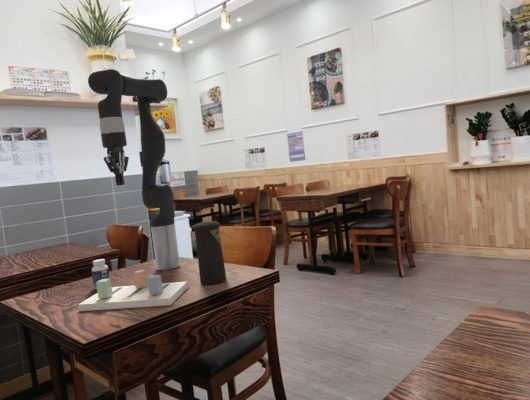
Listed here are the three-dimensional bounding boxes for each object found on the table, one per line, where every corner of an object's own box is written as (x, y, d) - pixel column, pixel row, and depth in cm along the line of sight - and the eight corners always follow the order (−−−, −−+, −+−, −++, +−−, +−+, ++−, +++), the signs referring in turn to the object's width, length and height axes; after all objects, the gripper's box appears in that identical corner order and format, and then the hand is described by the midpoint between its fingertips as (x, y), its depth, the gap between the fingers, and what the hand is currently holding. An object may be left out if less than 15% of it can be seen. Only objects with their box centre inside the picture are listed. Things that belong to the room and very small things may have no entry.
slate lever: (153, 291, 122) (151, 275, 122) (162, 291, 122) (160, 274, 121) (149, 295, 119) (147, 278, 119) (159, 294, 119) (156, 277, 118)
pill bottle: (105, 289, 140) (100, 261, 139) (91, 290, 141) (87, 262, 140) (113, 284, 145) (109, 257, 144) (100, 285, 146) (96, 258, 145)
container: (229, 281, 132) (222, 220, 130) (202, 287, 129) (195, 225, 127) (222, 275, 140) (215, 218, 138) (197, 281, 137) (189, 222, 135)
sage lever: (103, 295, 124) (101, 279, 124) (112, 294, 124) (110, 278, 123) (98, 298, 121) (96, 282, 121) (107, 297, 121) (105, 281, 120)
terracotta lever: (139, 285, 131) (137, 270, 131) (148, 284, 131) (146, 269, 130) (135, 288, 128) (133, 272, 128) (144, 287, 128) (142, 272, 127)
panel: (106, 293, 134) (106, 287, 134) (188, 287, 131) (187, 281, 130) (79, 311, 119) (78, 304, 118) (170, 305, 115) (169, 297, 115)
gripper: (112, 135, 140) (119, 185, 141) (91, 132, 127) (99, 187, 128) (132, 132, 139) (139, 182, 140) (113, 129, 126) (121, 185, 127)
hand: (120, 185), depth 134 cm, fingers closed
